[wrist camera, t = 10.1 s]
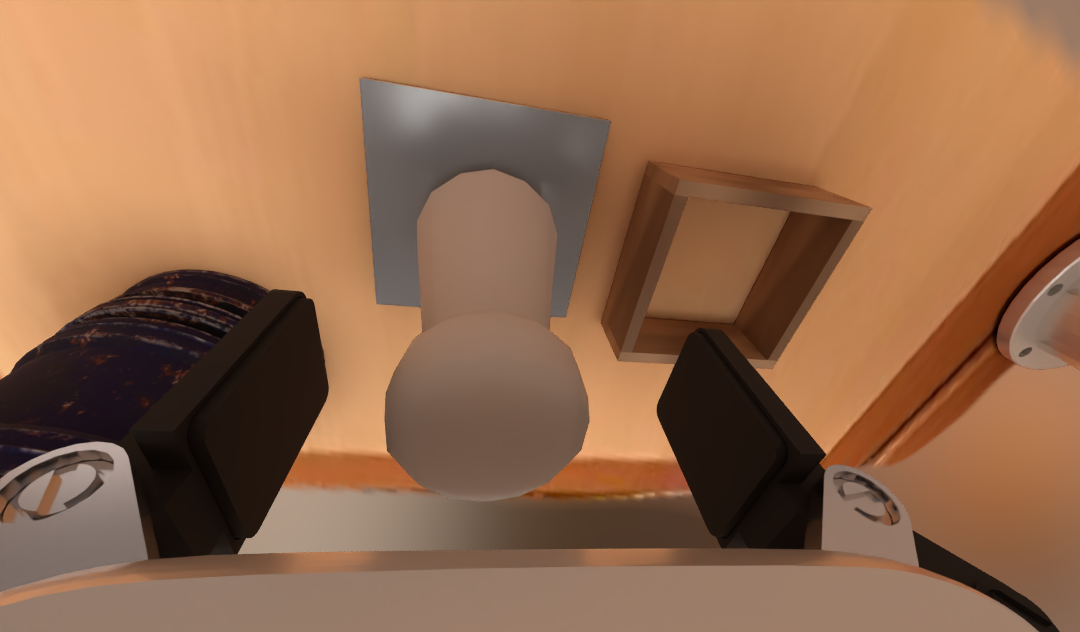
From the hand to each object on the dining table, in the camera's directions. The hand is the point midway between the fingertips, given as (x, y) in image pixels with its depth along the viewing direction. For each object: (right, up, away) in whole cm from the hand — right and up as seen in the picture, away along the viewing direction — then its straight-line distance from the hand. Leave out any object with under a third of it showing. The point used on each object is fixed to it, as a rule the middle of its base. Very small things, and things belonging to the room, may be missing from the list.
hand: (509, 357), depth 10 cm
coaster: (-2, +6, +9) cm, 11 cm away
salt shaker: (-2, +6, +8) cm, 10 cm away
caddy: (+10, +4, +11) cm, 16 cm away
